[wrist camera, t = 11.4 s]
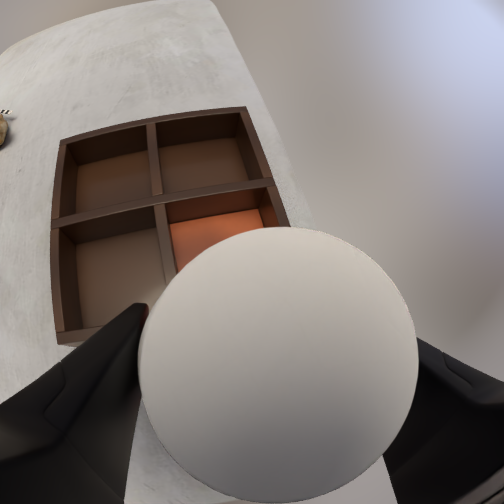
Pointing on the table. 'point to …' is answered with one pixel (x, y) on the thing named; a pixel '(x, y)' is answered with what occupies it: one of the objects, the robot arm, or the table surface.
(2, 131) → the fossil
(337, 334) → the pill bottle
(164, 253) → the grid
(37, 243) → the table surface
